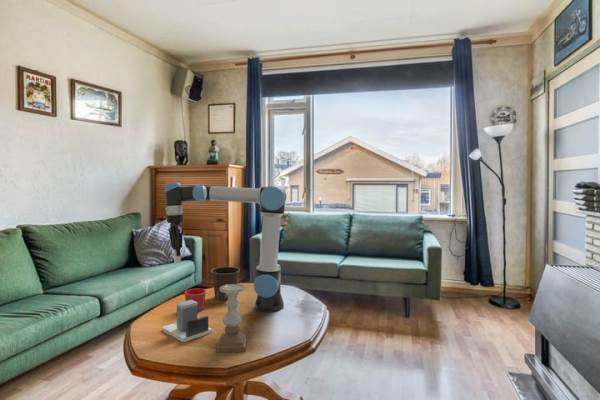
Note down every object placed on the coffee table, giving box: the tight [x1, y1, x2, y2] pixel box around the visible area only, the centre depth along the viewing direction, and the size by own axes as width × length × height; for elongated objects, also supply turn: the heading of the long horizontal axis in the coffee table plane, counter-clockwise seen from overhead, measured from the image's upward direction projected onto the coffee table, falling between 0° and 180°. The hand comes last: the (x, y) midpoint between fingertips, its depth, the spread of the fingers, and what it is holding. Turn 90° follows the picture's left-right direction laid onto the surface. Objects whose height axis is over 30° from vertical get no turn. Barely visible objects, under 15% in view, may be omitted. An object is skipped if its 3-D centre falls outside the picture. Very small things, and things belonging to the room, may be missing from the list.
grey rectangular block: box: [175, 300, 198, 331], centre depth 157 cm, size 5×7×11 cm
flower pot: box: [184, 288, 207, 313], centre depth 184 cm, size 11×11×10 cm
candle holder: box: [216, 283, 248, 354], centre depth 142 cm, size 11×11×24 cm
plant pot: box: [210, 266, 241, 302], centre depth 204 cm, size 16×16×16 cm
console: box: [161, 315, 213, 343], centre depth 157 cm, size 18×14×8 cm
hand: (177, 262), depth 175 cm, fingers closed
